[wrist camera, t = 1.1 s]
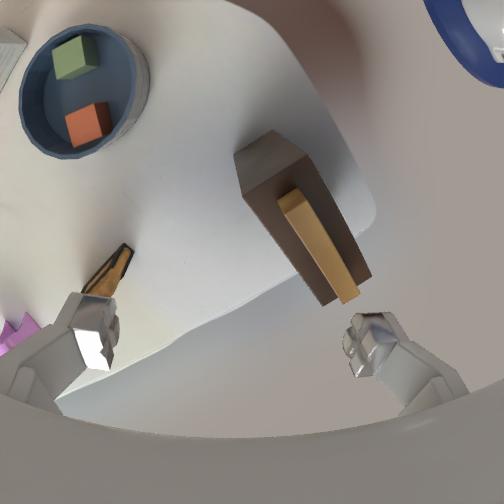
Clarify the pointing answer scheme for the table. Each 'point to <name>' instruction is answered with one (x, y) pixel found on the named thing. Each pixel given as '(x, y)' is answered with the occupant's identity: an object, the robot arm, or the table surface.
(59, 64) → the block
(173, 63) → the table surface
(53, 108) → the bowl
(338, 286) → the tan wooden bar
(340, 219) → the brown thick block
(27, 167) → the table surface
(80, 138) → the block
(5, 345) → the toy chair
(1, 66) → the small box
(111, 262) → the ammunition clip
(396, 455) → the robot arm
